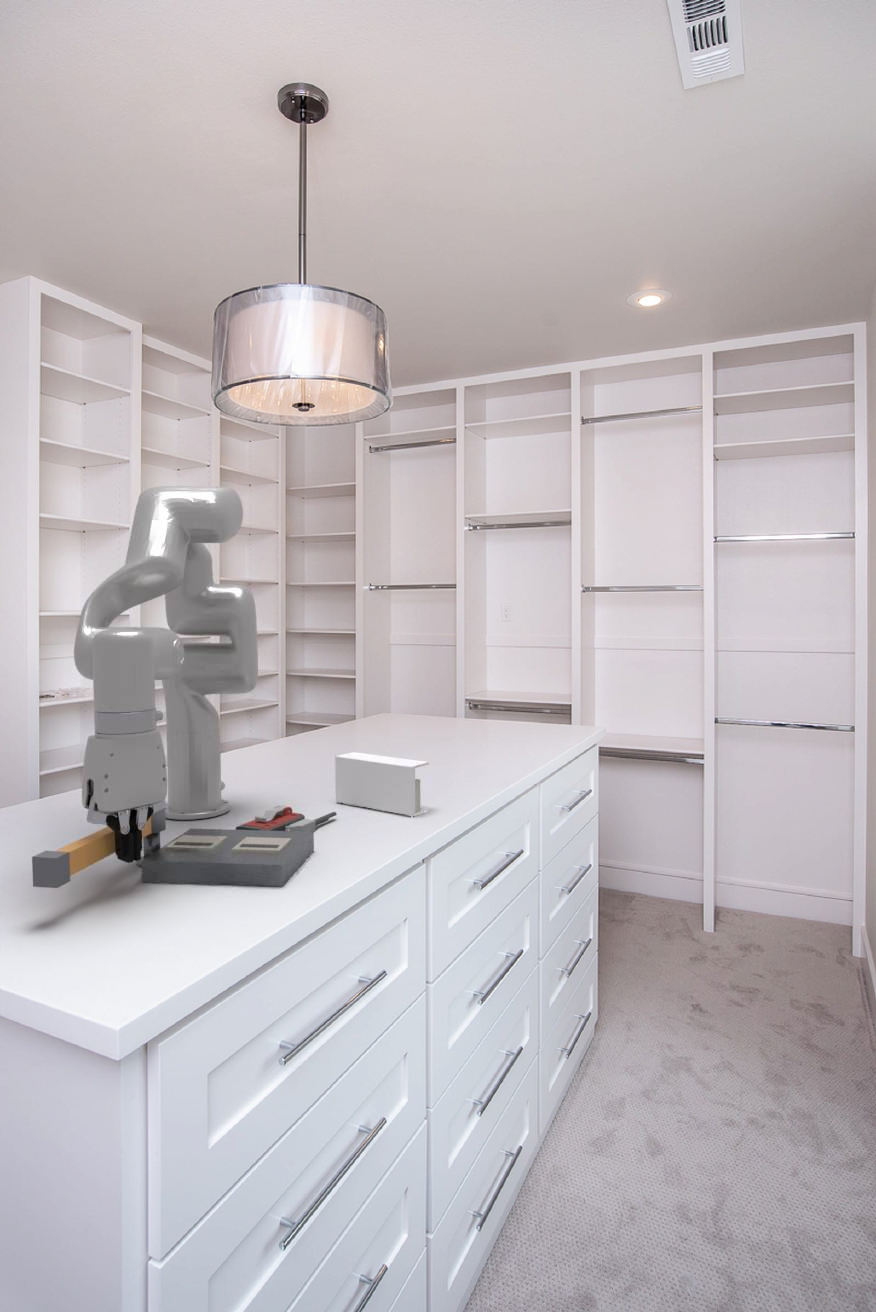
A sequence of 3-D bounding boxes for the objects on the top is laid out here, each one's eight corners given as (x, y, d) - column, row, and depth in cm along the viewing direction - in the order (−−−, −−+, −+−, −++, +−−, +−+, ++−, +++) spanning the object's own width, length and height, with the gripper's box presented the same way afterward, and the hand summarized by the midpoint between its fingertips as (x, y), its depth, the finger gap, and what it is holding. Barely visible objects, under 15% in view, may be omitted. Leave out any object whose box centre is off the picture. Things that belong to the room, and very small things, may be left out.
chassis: (191, 847, 123) (190, 825, 123) (313, 850, 121) (313, 828, 120) (142, 881, 107) (141, 856, 107) (282, 886, 105) (281, 861, 105)
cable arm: (146, 827, 117) (145, 803, 117) (170, 828, 117) (170, 804, 116) (30, 886, 92) (29, 856, 92) (60, 888, 91) (59, 858, 91)
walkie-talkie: (271, 853, 121) (340, 822, 139) (271, 825, 121) (340, 797, 139) (227, 846, 125) (300, 816, 143) (227, 819, 124) (299, 792, 142)
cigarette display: (429, 811, 145) (429, 762, 144) (411, 818, 140) (411, 767, 140) (349, 797, 156) (349, 751, 156) (330, 802, 152) (330, 755, 151)
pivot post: (145, 857, 118) (144, 828, 117) (173, 858, 117) (172, 829, 117) (130, 867, 113) (130, 836, 113) (159, 867, 113) (158, 837, 113)
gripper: (159, 715, 110) (162, 841, 111) (54, 727, 98) (59, 869, 100) (191, 719, 106) (194, 851, 107) (85, 733, 94) (89, 881, 95)
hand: (129, 859), depth 103 cm, fingers closed
